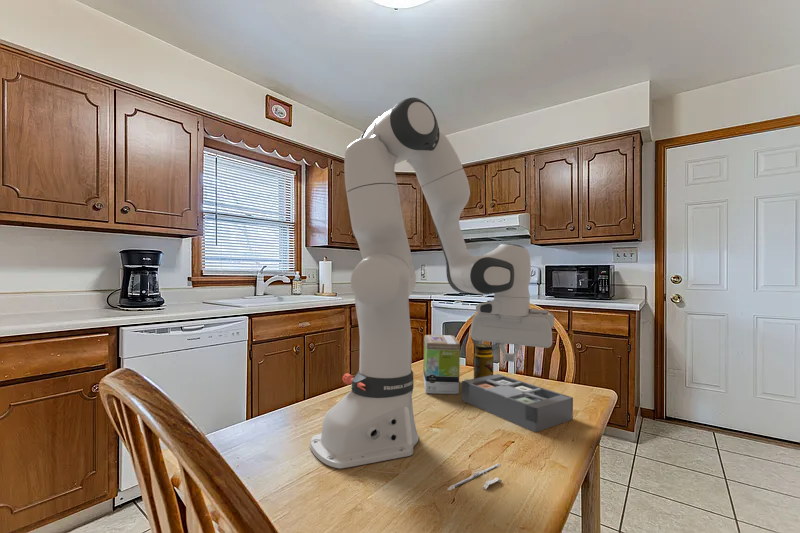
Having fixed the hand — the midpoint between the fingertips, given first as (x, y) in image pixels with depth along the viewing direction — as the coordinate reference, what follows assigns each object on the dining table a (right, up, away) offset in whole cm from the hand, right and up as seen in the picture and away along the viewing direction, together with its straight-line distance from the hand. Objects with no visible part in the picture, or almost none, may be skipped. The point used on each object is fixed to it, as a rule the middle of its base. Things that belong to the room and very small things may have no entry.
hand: (509, 361), depth 101 cm
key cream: (+4, -9, +2) cm, 10 cm away
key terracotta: (-5, -9, +3) cm, 11 cm away
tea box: (-16, -13, +19) cm, 28 cm away
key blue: (+8, -11, -4) cm, 13 cm away
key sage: (+2, -9, -7) cm, 12 cm away
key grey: (+1, -9, +7) cm, 12 cm away
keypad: (+1, -13, 0) cm, 13 cm away
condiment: (-3, -13, +22) cm, 26 cm away
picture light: (-14, -13, -34) cm, 39 cm away
